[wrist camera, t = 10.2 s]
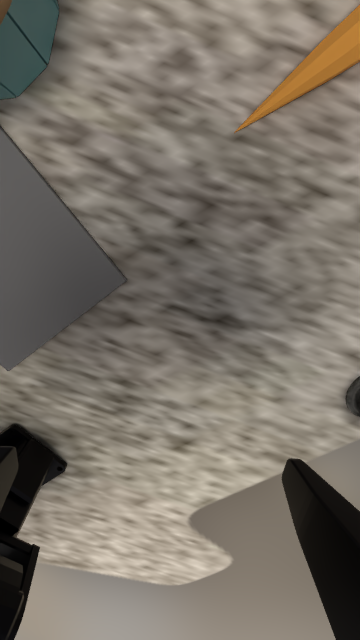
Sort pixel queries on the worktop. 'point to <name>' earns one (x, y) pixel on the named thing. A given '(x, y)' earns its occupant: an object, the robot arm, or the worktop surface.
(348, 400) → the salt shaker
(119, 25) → the worktop surface
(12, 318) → the mat
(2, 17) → the lid
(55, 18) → the bowl
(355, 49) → the carrot
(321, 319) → the worktop surface
